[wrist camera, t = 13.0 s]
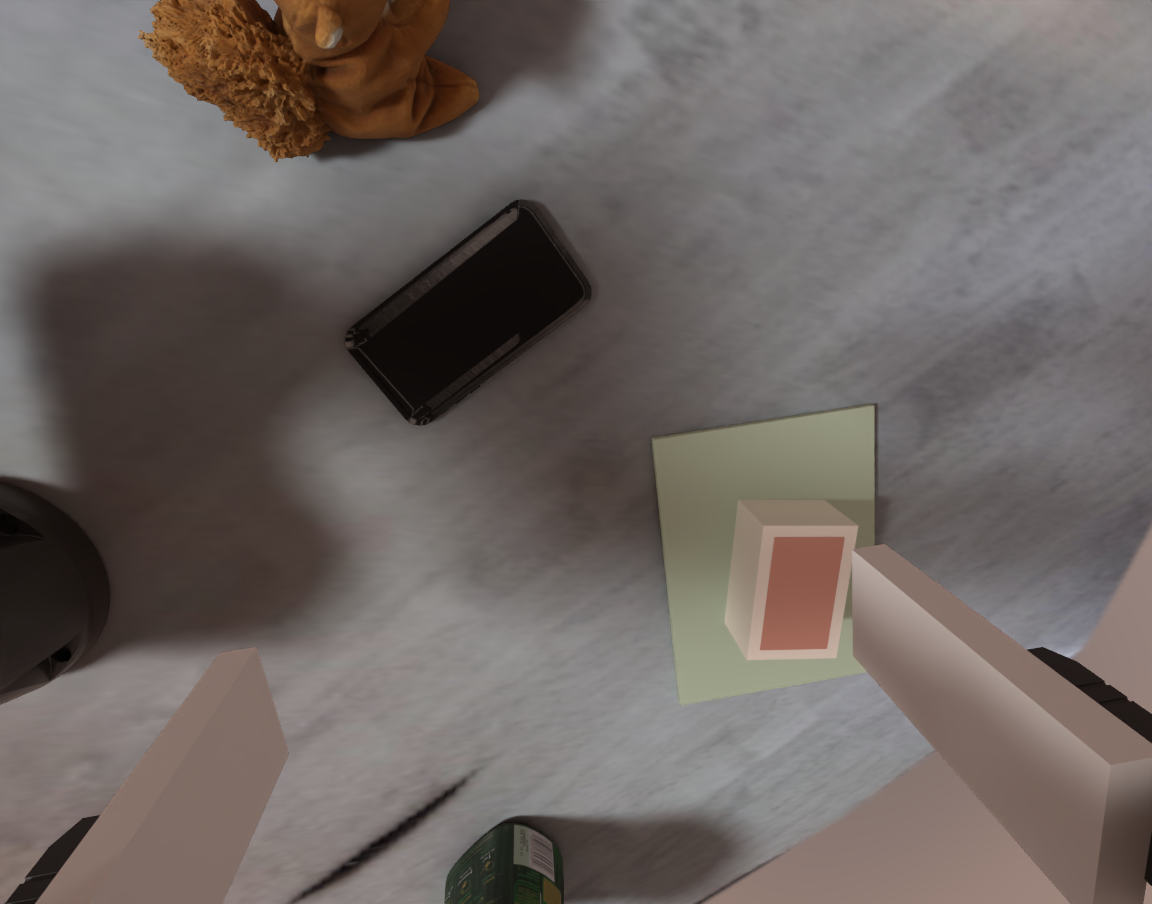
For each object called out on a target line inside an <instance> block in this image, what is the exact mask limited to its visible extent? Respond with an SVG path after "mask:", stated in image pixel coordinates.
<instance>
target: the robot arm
mask: <svg viewBox="0 0 1152 904" xmlns="http://www.w3.org/2000/svg"><path fill="white" fill-rule="evenodd" d="M108 608H109V586H108V580H107V576H106V572H105V569H104V566H103V564H102V561H101V559H100V557H99V555H98V553H97V551H96V550H95V548H94V546H93V545H92V543H91V542H90V540H89V539H88V538H87V536H86V535H85V534H84V533H83V531H82V530H81V529H80V528H79V527H78V526H77V525H76V524H75V523H74V522H73V521H72V520H71V519H70V518H69V517H67V516H66V515H65V514H64V513H63V512H61V511H60V510H59V509H57V508H56V507H54V506H53V505H51V504H50V503H48V502H47V501H45V500H43V499H41V498H40V497H38V496H36V495H34V494H32V493H29V492H27V491H25V490H22V489H20V488H17V487H14V486H11V485H8V484H4V483H0V705H1V704H3V703H6V702H8V701H10V700H13V699H15V698H17V697H20V696H22V695H24V694H27V693H29V692H31V691H34V690H36V689H38V688H40V687H42V686H44V685H46V684H48V683H49V682H51V681H53V680H54V679H56V678H57V677H59V676H60V675H61V674H63V673H64V672H65V671H66V670H67V669H69V668H70V667H71V666H72V665H73V664H74V663H75V662H76V661H77V660H78V659H79V658H81V657H82V656H83V655H84V654H85V653H86V652H87V651H88V650H89V649H90V648H91V646H92V645H93V644H94V643H95V641H96V640H97V638H98V637H99V635H100V633H101V631H102V629H103V627H104V624H105V621H106V618H107V614H108ZM852 619H853V656H854V657H855V659H856V660H857V661H858V662H859V663H860V664H861V665H862V667H863V668H864V669H865V670H866V671H867V672H868V673H869V675H870V676H871V677H872V678H873V679H874V680H875V681H876V682H877V684H878V685H879V686H880V687H881V688H882V689H883V690H884V692H885V693H886V694H887V695H888V696H889V697H890V698H891V700H892V701H893V702H894V703H895V704H896V705H897V706H898V708H899V709H900V710H901V711H902V712H903V713H904V714H905V716H906V717H907V718H908V719H909V720H910V721H911V722H912V724H913V725H914V726H915V727H916V728H917V729H918V730H919V732H920V733H921V734H922V735H923V736H924V737H925V738H926V739H927V741H928V742H929V743H930V744H931V745H932V746H933V747H934V749H935V750H936V751H937V752H938V753H939V754H940V755H941V756H942V758H943V759H944V760H945V761H946V762H947V763H948V765H949V766H950V767H951V768H952V769H953V770H954V771H955V772H956V774H957V775H958V776H959V777H960V778H961V779H962V780H963V782H964V783H965V784H966V785H967V786H968V787H969V788H970V790H971V791H972V792H973V793H974V794H975V795H976V797H977V798H979V800H980V801H981V802H982V803H983V804H984V805H985V807H986V808H987V809H988V810H989V811H990V812H991V814H992V815H993V816H994V817H995V818H996V819H997V820H998V822H999V823H1000V824H1001V825H1002V826H1003V827H1004V828H1005V830H1006V831H1007V832H1008V833H1009V834H1010V835H1011V836H1012V837H1013V839H1014V840H1015V841H1016V842H1017V843H1018V844H1019V846H1020V847H1021V848H1022V849H1023V850H1024V851H1025V852H1026V854H1027V855H1028V856H1029V857H1030V858H1031V859H1032V860H1033V861H1034V863H1035V864H1036V865H1037V866H1038V867H1039V868H1040V869H1041V871H1042V872H1043V873H1044V874H1045V875H1046V876H1047V877H1048V879H1049V880H1050V881H1051V882H1052V883H1053V884H1054V885H1055V887H1056V888H1057V889H1058V890H1059V891H1060V892H1061V893H1062V895H1063V896H1064V897H1065V898H1066V899H1067V900H1068V901H1069V902H1070V904H1143V901H1144V895H1145V889H1146V882H1148V883H1149V884H1150V885H1151V886H1152V714H1151V713H1149V712H1148V711H1146V710H1145V709H1144V708H1142V707H1141V706H1139V705H1138V704H1136V703H1135V702H1134V701H1130V702H1129V701H1128V699H1127V697H1126V696H1125V695H1124V694H1122V693H1121V692H1119V691H1118V690H1117V689H1115V688H1114V687H1112V686H1111V685H1106V684H1105V682H1104V680H1102V679H1101V678H1099V677H1098V676H1096V675H1095V674H1094V673H1092V672H1091V671H1090V670H1088V669H1087V668H1085V667H1084V666H1082V665H1081V664H1080V663H1078V662H1077V661H1074V660H1072V659H1070V658H1067V657H1065V656H1062V655H1060V654H1058V653H1055V652H1053V651H1051V650H1048V649H1046V648H1044V647H1040V648H1034V649H1028V650H1026V649H1025V648H1023V647H1022V646H1021V645H1019V644H1018V643H1017V642H1015V641H1014V640H1013V639H1011V638H1010V637H1009V636H1007V635H1006V634H1005V633H1003V632H1002V631H1001V630H999V629H998V628H997V627H995V626H994V625H993V624H991V623H990V622H989V621H987V620H986V619H985V618H983V617H982V616H981V615H979V614H978V613H976V612H975V611H974V610H972V609H971V608H970V607H968V606H967V605H966V604H964V603H963V602H962V601H960V600H959V599H958V598H956V597H955V596H954V595H952V594H951V593H950V592H948V591H947V590H946V589H944V588H943V587H942V586H940V585H939V584H938V583H936V582H935V581H934V580H932V579H931V578H930V577H928V576H927V575H926V574H924V573H923V572H922V571H920V570H919V569H918V568H916V567H915V566H914V565H912V564H911V563H910V562H908V561H907V560H906V559H904V558H903V557H902V556H900V555H899V554H898V553H896V552H895V551H894V550H892V549H891V548H890V547H888V546H887V545H886V544H881V545H875V546H869V547H863V548H857V549H852ZM288 755H289V752H288V748H287V745H286V742H285V738H284V735H283V732H282V729H281V725H280V722H279V719H278V716H277V712H276V709H275V706H274V702H273V699H272V696H271V693H270V689H269V686H268V683H267V680H266V676H265V673H264V670H263V666H262V663H261V660H260V657H259V653H258V650H257V647H253V648H247V649H241V650H235V651H228V652H222V653H219V655H218V656H217V657H216V659H215V660H214V661H213V663H212V664H211V665H210V667H209V668H208V670H207V671H206V672H205V674H204V675H203V676H202V678H201V679H200V680H199V682H198V683H197V684H196V686H195V687H194V689H193V690H192V691H191V693H190V694H189V695H188V697H187V698H186V699H185V701H184V702H183V704H182V705H181V706H180V708H179V709H178V710H177V712H176V713H175V714H174V716H173V717H172V718H171V720H170V721H169V723H168V724H167V725H166V727H165V728H164V729H163V731H162V732H161V733H160V735H159V736H158V737H157V739H156V740H155V742H154V743H153V744H152V746H151V747H150V748H149V750H148V751H147V752H146V754H145V755H144V757H143V758H142V759H141V761H140V762H139V763H138V765H137V766H136V767H135V769H134V770H133V771H132V773H131V774H130V776H129V777H128V778H127V780H126V781H125V782H124V784H123V785H122V786H121V788H120V789H119V791H118V792H117V793H116V795H115V796H114V797H113V799H112V800H111V801H110V803H109V804H108V805H107V807H106V808H105V810H104V811H103V812H102V814H101V815H98V816H92V817H87V818H83V819H81V820H80V821H79V822H78V823H77V824H75V825H74V826H73V827H72V828H71V829H70V830H68V831H67V832H66V833H65V834H64V835H63V836H61V837H60V838H59V839H58V840H57V841H56V842H54V843H53V844H52V845H51V846H50V847H49V848H48V849H47V850H46V852H45V853H44V854H43V856H42V857H41V858H40V859H39V861H38V862H37V863H36V865H35V866H34V867H33V868H32V870H31V871H30V872H29V873H28V875H27V876H26V877H25V882H24V884H20V885H19V886H18V887H17V889H16V890H15V891H14V893H13V894H12V895H11V896H10V898H9V899H8V900H7V902H6V903H5V904H222V903H223V901H224V899H225V896H226V894H227V892H228V890H229V887H230V885H231V883H232V881H233V878H234V876H235V874H236V872H237V869H238V867H239V865H240V863H241V860H242V858H243V856H244V854H245V851H246V849H247V847H248V845H249V842H250V840H251V838H252V836H253V833H254V831H255V829H256V827H257V824H258V822H259V820H260V818H261V815H262V813H263V811H264V809H265V806H266V804H267V802H268V800H269V797H270V795H271V793H272V791H273V788H274V786H275V784H276V782H277V779H278V777H279V775H280V773H281V770H282V768H283V766H284V764H285V761H286V759H287V757H288Z"/></svg>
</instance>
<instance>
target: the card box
mask: <svg viewBox="0 0 1152 904" xmlns="http://www.w3.org/2000/svg"><path fill="white" fill-rule="evenodd" d="M857 531H858V525H857V524H856V523H854V522H853V521H852V520H850V519H849V518H848V517H846V516H845V515H844V514H842V513H841V512H840V511H838V510H837V509H836V508H834V507H833V506H832V505H830V504H829V503H828V502H826V501H825V500H784V499H738V505H737V513H736V522H735V531H734V540H733V549H732V558H731V567H730V576H729V585H728V594H727V603H726V612H725V621H724V623H725V625H726V626H727V628H728V630H729V631H730V633H731V635H732V636H733V638H734V640H735V641H736V643H737V645H738V646H739V648H740V650H741V651H742V653H743V655H744V657H745V658H746V660H780V659H825V658H836V657H837V651H838V645H839V639H840V633H841V627H842V621H843V615H844V609H845V603H846V597H847V591H848V585H849V579H850V573H851V567H852V549H855V543H856V537H857Z"/></svg>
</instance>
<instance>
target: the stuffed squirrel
mask: <svg viewBox="0 0 1152 904" xmlns="http://www.w3.org/2000/svg"><path fill="white" fill-rule="evenodd" d="M160 1H161V2H158V3H156V6H155V5H154V7H152V9H149V10H151V11H150V12H151V13H152V14H154V17H155V18H156V21H158V22H155V21H154V22H152V24H153V28H155V30H154V31H153V33H149V34H148V33H145V32H143V31H141V30H139V32H140V34H141V35H139V36H138V38H139V39H141V40H143V41H144V42H145V43H146V44H144V45H145V48H150V49H152V50H153V56H152V57H153V58H155V59H156V60H157V61H158V62H160V63H161V64H162V65H163V66H164V67H167V68H168V70H169V71H168V72H169V73H167V74H168V75H169V76H170V77H172V78H173V79H174V80H175V81H176V82H178V83H181V84H183V85H184V89H185V90H186V91H187V93H188V94H189V95H192V96H194V97H196V98H197V100H198V101H199V100H200V101H202V100H204V101H206V102H208V103H211V104H214V105H217V106H218V107H219V108H220V110H221V111H223V113H226V115H224V116H223V117H224V120H225V121H226V120H229V121H233V123H234V124H233V125H234V127H239V128H241V129H242V130H244V131H247V132H248V134H247V135H246V137H247V138H255V139H258V147H259V146H260V147H263V149H264V150H265V151H266V150H268V151H269V153H270V156H272V158H274V161H275V162H278V159H279V158H282V159H283V158H286V157H288V158H293V157H296V156H307V158H308V157H309V155H310V154H311V153H313V152H317V151H319V150H320V149H321V147H323V145H324V141H327V140H331V138H330V137H329V136H328V135H327V132H328V131H333V132H335V133H336V134H338V135H340V136H343V137H348V138H356V139H383V138H409V137H412V136H414V135H417V134H420V133H423V132H425V131H428V130H431V129H433V128H435V127H438V126H441V125H443V124H445V123H447V122H449V121H451V120H453V119H455V118H457V117H458V116H460V115H461V114H463V113H464V112H465V111H467V110H468V109H469V108H471V107H472V106H473V105H475V104H476V103H477V101H478V100H479V91H478V85H477V83H476V81H475V80H474V79H472V78H471V77H469V76H468V75H466V74H464V73H463V72H461V71H459V70H457V69H455V68H453V67H451V66H449V65H447V64H445V63H443V62H441V61H438V60H436V59H433V58H431V57H428V56H427V55H425V53H426V52H427V51H428V50H429V48H430V47H431V46H432V44H433V43H434V41H435V40H436V38H437V37H438V35H439V33H440V32H441V30H442V28H443V26H444V24H445V21H446V19H447V15H448V11H449V7H450V0H274V1H275V2H276V4H277V5H278V6H279V7H278V9H277V12H276V15H275V17H274V21H273V20H272V18H271V17H270V15H269V14H268V12H267V11H266V10H264V9H262V8H261V7H260V5H259V4H258V2H257V1H256V0H160Z"/></svg>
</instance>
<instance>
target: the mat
mask: <svg viewBox="0 0 1152 904" xmlns="http://www.w3.org/2000/svg"><path fill="white" fill-rule="evenodd" d="M651 442H652V452H653V461H654V471H655V481H656V490H657V500H658V510H659V519H660V529H661V538H662V548H663V558H664V567H665V577H666V587H667V596H668V606H669V615H670V625H671V635H672V644H673V654H674V664H675V673H676V683H677V692H678V701H679V704H680V705H686V704H692V703H697V702H703V701H709V700H714V699H720V698H725V697H731V696H737V695H742V694H748V693H754V692H759V691H765V690H770V689H776V688H782V687H787V686H793V685H798V684H804V683H810V682H815V681H821V680H827V679H832V678H838V677H843V676H849V675H855V674H860V673H866V672H867V671H866V670H865V669H864V668H863V667H862V665H861V664H860V663H859V662H858V661H857V660H856V659H855V657H854V656H853V619H852V567H851V573H850V579H849V585H848V591H847V597H846V603H845V609H844V615H843V621H842V627H841V633H840V639H839V645H838V651H837V657H836V658H825V659H780V660H746V658H745V657H744V655H743V653H742V651H741V650H740V648H739V646H738V645H737V643H736V641H735V640H734V638H733V636H732V635H731V633H730V631H729V630H728V628H727V626H726V625H725V623H724V621H725V612H726V603H727V594H728V585H729V576H730V567H731V558H732V549H733V540H734V531H735V522H736V513H737V505H738V499H784V500H825V501H826V502H828V503H829V504H830V505H832V506H833V507H834V508H836V509H837V510H838V511H840V512H841V513H842V514H844V515H845V516H846V517H848V518H849V519H850V520H852V521H853V522H854V523H856V524H857V525H858V531H857V537H856V543H855V549H857V548H863V547H869V546H875V482H874V405H872V404H865V405H859V406H852V407H846V408H839V409H833V410H826V411H820V412H814V413H807V414H801V415H794V416H788V417H781V418H775V419H768V420H762V421H756V422H749V423H743V424H736V425H730V426H723V427H717V428H710V429H704V430H697V431H691V432H685V433H678V434H672V435H665V436H659V437H652V438H651Z"/></svg>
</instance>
